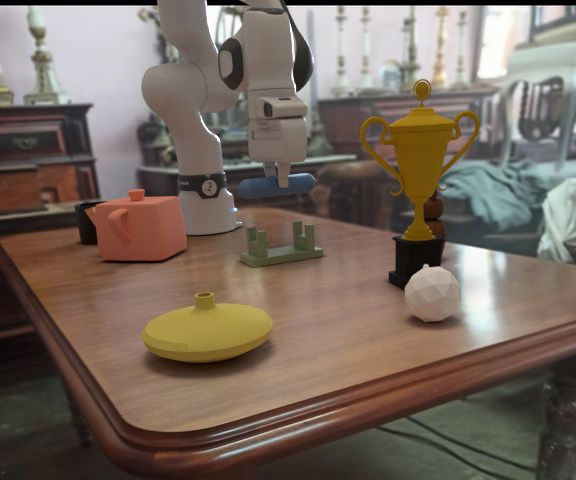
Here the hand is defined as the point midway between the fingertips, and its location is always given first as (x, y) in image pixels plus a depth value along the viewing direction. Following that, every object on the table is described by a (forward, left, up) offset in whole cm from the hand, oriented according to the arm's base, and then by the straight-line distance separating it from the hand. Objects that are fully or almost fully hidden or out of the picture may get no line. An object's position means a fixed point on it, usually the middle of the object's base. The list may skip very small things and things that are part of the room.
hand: (277, 186), depth 111 cm
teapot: (-22, -25, -14) cm, 36 cm away
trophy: (+30, +11, -14) cm, 35 cm away
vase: (+41, -27, -14) cm, 51 cm away
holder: (0, 0, -14) cm, 14 cm away
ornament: (+46, +2, -14) cm, 48 cm away
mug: (-47, -28, -14) cm, 57 cm away
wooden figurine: (+18, +22, -14) cm, 32 cm away
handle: (0, 0, -2) cm, 2 cm away
